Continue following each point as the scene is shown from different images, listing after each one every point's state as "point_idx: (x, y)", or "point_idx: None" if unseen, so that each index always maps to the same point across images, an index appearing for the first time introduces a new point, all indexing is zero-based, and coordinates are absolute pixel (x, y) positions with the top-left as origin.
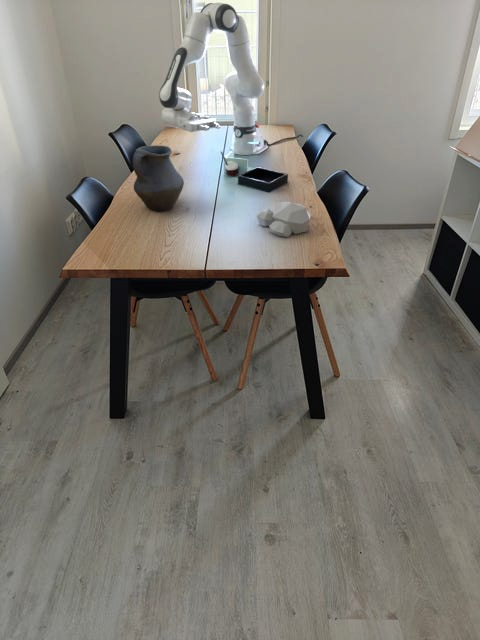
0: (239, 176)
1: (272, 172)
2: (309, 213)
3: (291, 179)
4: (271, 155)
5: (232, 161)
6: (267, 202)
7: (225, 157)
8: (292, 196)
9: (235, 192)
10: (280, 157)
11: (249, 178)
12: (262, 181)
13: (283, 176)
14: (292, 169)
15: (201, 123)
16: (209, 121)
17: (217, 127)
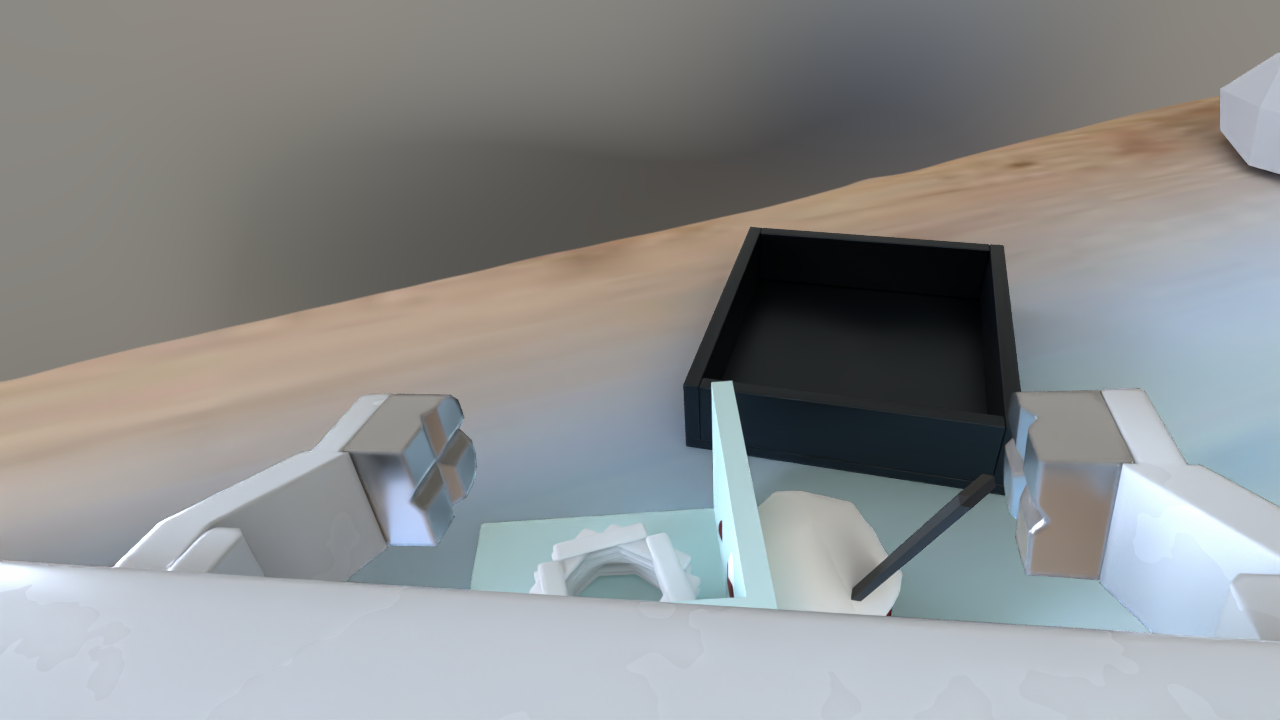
0: None
1: (736, 300)
2: (1229, 83)
3: (677, 281)
4: (30, 520)
5: (790, 524)
6: (1148, 269)
7: (774, 599)
8: (953, 223)
9: (1195, 448)
10: (125, 444)
11: (1014, 345)
12: (1002, 274)
13: (810, 232)
14: (464, 318)
15: (1079, 633)
16: (318, 581)
17: (463, 464)
